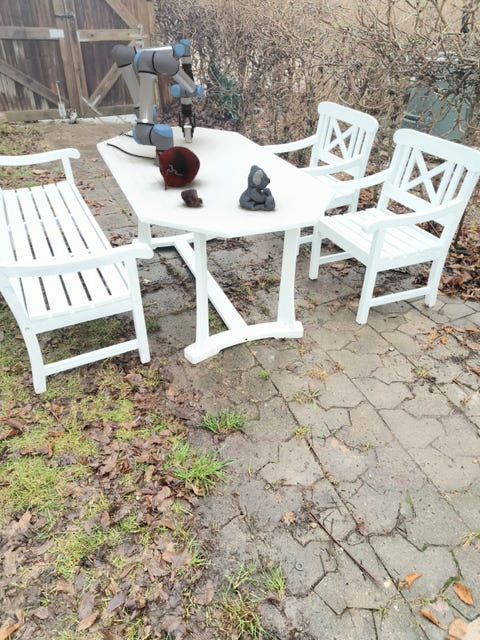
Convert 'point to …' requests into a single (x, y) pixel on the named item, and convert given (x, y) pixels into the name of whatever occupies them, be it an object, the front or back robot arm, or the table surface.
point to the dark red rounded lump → (178, 166)
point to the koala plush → (257, 191)
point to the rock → (191, 197)
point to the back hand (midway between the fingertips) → (188, 93)
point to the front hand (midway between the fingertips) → (188, 137)
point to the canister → (187, 134)
